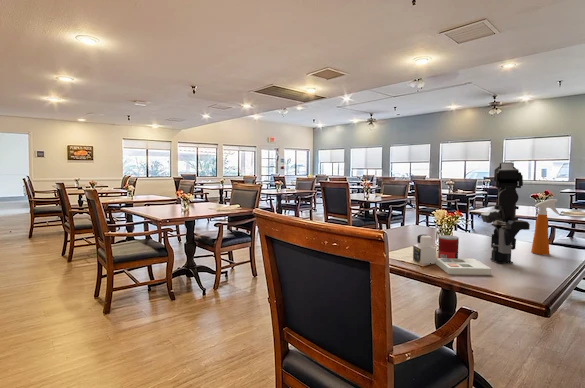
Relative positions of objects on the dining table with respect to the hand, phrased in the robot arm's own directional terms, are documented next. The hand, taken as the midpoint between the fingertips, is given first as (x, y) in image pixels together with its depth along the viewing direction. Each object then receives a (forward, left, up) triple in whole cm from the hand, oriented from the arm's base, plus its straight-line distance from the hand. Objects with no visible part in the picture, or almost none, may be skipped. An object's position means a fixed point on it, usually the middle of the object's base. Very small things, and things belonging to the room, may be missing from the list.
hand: (505, 244), depth 126 cm
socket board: (+11, -10, -13) cm, 20 cm away
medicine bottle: (+23, -20, -13) cm, 33 cm away
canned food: (+12, -22, -13) cm, 28 cm away
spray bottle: (-39, -37, -13) cm, 55 cm away
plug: (0, 0, -3) cm, 3 cm away
